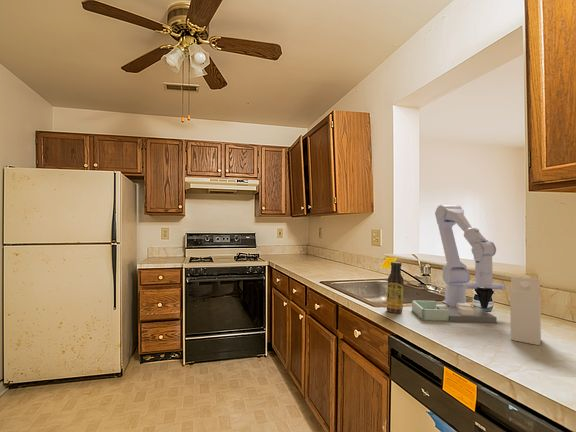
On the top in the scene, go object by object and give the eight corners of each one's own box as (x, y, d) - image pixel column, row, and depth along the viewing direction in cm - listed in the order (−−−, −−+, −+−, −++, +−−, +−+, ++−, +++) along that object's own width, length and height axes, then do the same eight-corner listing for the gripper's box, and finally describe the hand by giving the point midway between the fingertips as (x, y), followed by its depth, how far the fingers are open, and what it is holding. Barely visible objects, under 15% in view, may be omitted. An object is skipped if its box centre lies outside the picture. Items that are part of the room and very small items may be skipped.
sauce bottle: (385, 312, 131) (385, 262, 131) (388, 308, 136) (388, 260, 136) (402, 314, 128) (402, 263, 128) (404, 310, 133) (404, 261, 133)
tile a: (456, 307, 130) (456, 302, 130) (467, 308, 130) (467, 303, 130) (460, 310, 126) (460, 305, 126) (471, 310, 126) (471, 305, 126)
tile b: (458, 312, 124) (457, 306, 124) (469, 312, 124) (469, 307, 124) (462, 315, 120) (462, 309, 120) (474, 315, 120) (473, 309, 120)
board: (436, 311, 133) (436, 306, 133) (478, 312, 131) (478, 307, 131) (449, 321, 119) (449, 315, 119) (496, 322, 117) (496, 317, 117)
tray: (412, 310, 134) (412, 300, 134) (435, 311, 133) (435, 301, 133) (422, 320, 120) (422, 309, 120) (448, 321, 119) (448, 310, 119)
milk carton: (513, 334, 106) (512, 275, 106) (540, 339, 101) (540, 277, 101) (510, 340, 100) (510, 277, 100) (540, 346, 96) (539, 280, 96)
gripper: (468, 273, 124) (469, 309, 124) (509, 274, 123) (509, 311, 123) (460, 271, 131) (461, 305, 131) (499, 271, 130) (499, 306, 130)
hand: (484, 307), depth 127 cm, fingers closed
